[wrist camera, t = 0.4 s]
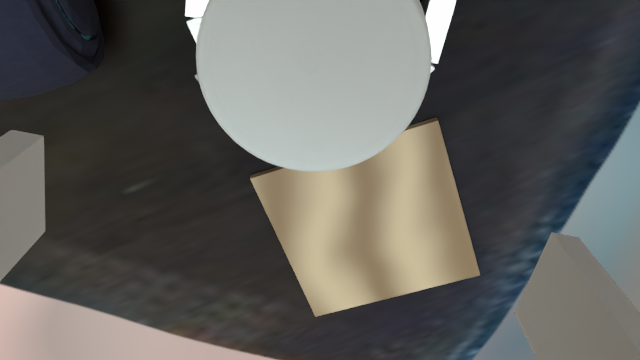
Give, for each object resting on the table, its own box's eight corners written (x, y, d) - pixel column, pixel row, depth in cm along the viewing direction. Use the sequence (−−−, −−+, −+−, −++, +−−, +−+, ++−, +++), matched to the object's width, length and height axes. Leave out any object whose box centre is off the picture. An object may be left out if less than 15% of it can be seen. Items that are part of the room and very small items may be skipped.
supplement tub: (222, 36, 35) (154, 122, 22) (277, -115, 31) (233, -119, 18) (355, 96, 37) (366, 209, 24) (425, -40, 32) (484, 7, 19)
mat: (436, 117, 37) (438, 120, 37) (478, 270, 43) (480, 275, 43) (251, 174, 40) (250, 178, 39) (315, 311, 46) (315, 316, 45)
